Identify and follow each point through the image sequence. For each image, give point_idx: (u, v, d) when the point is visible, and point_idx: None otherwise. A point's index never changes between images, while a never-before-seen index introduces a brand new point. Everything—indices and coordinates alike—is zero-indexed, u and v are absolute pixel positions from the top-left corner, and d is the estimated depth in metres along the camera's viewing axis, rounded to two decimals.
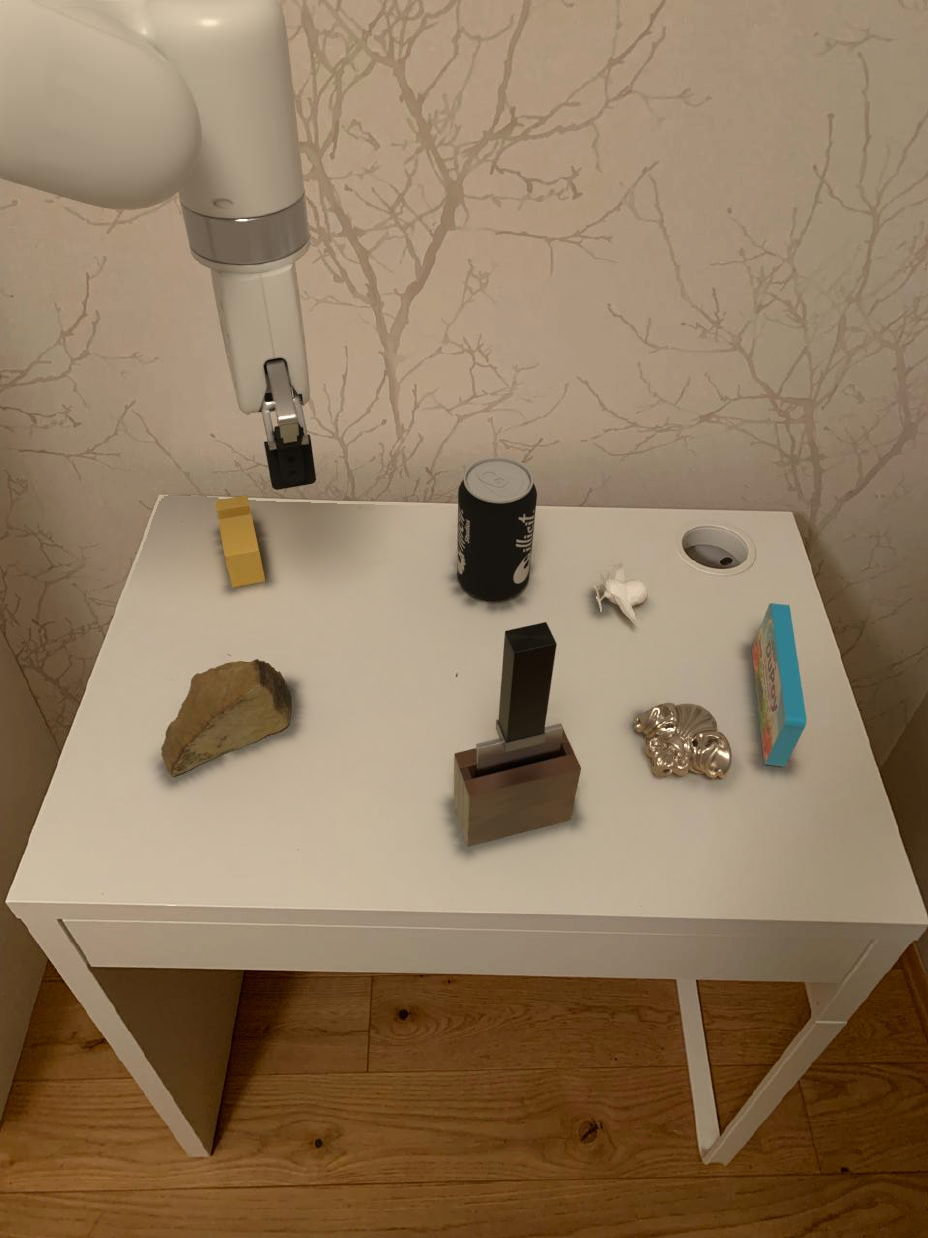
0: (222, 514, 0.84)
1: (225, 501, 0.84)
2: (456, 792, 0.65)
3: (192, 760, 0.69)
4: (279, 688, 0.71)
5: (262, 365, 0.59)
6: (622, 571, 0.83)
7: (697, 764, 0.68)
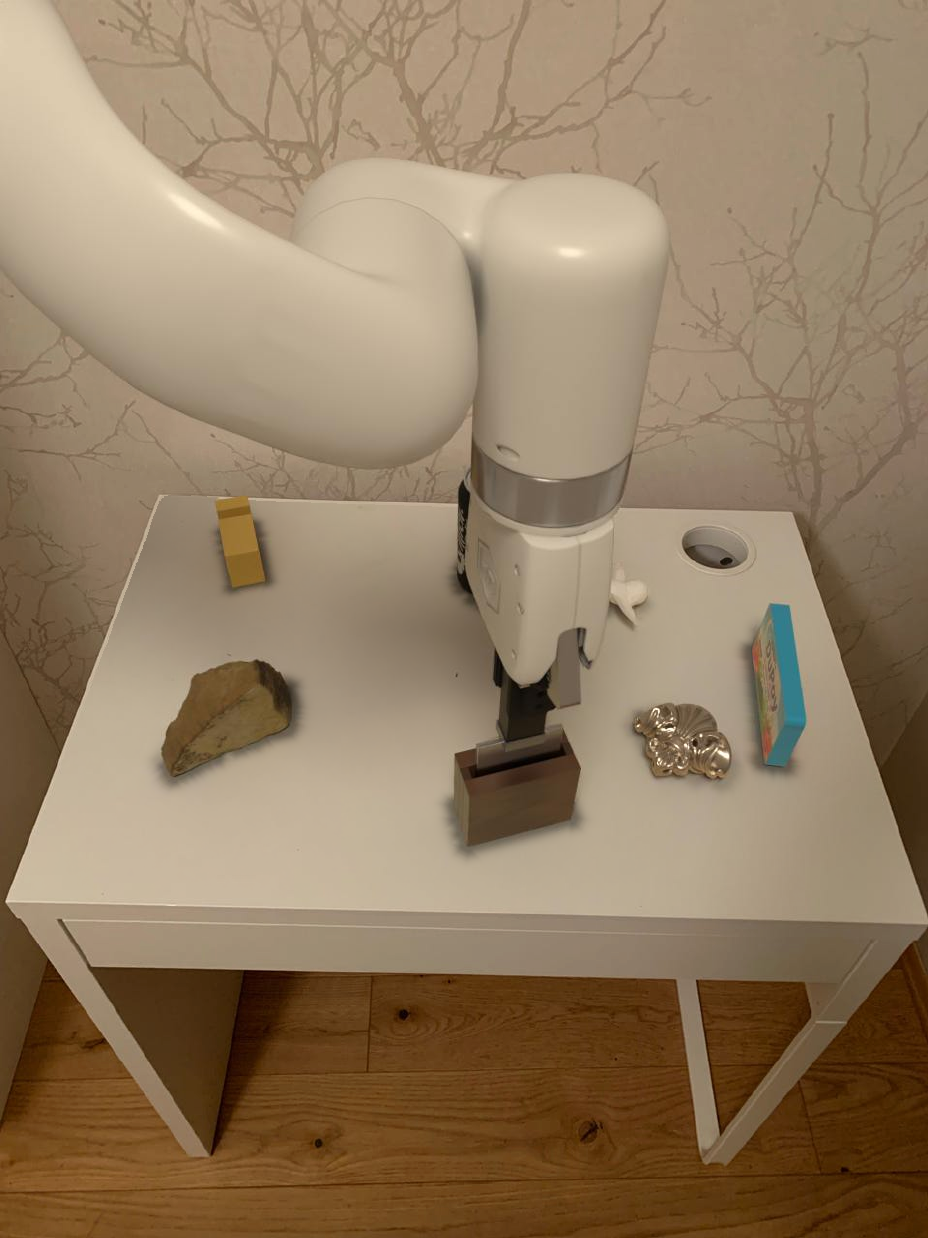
0: (222, 514, 0.84)
1: (225, 501, 0.84)
2: (456, 792, 0.65)
3: (192, 760, 0.69)
4: (279, 688, 0.71)
5: (557, 637, 0.45)
6: (622, 571, 0.83)
7: (697, 764, 0.68)
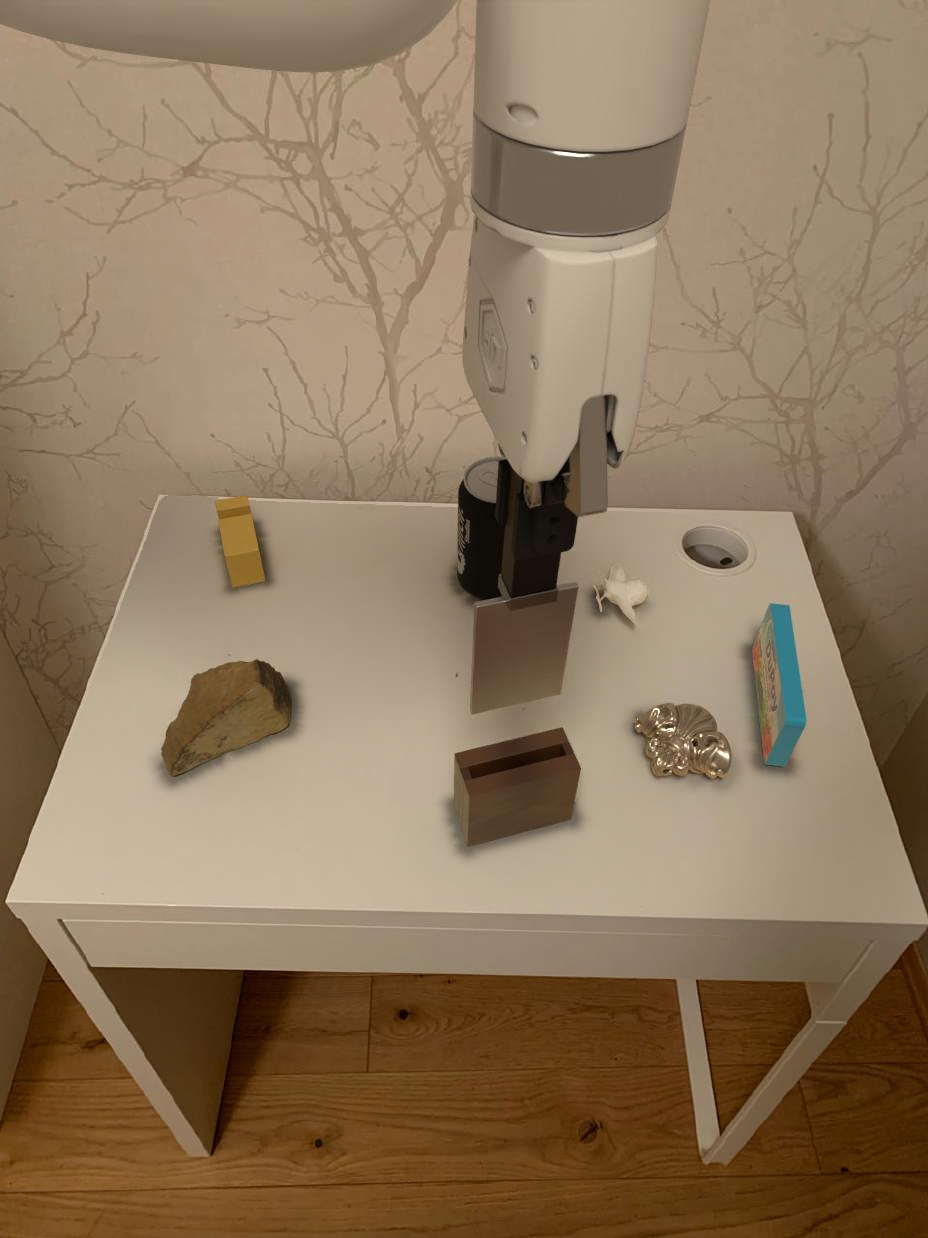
0: (222, 514, 0.84)
1: (225, 501, 0.84)
2: (456, 792, 0.65)
3: (192, 760, 0.69)
4: (279, 688, 0.71)
5: (580, 407, 0.35)
6: (622, 571, 0.83)
7: (697, 764, 0.68)
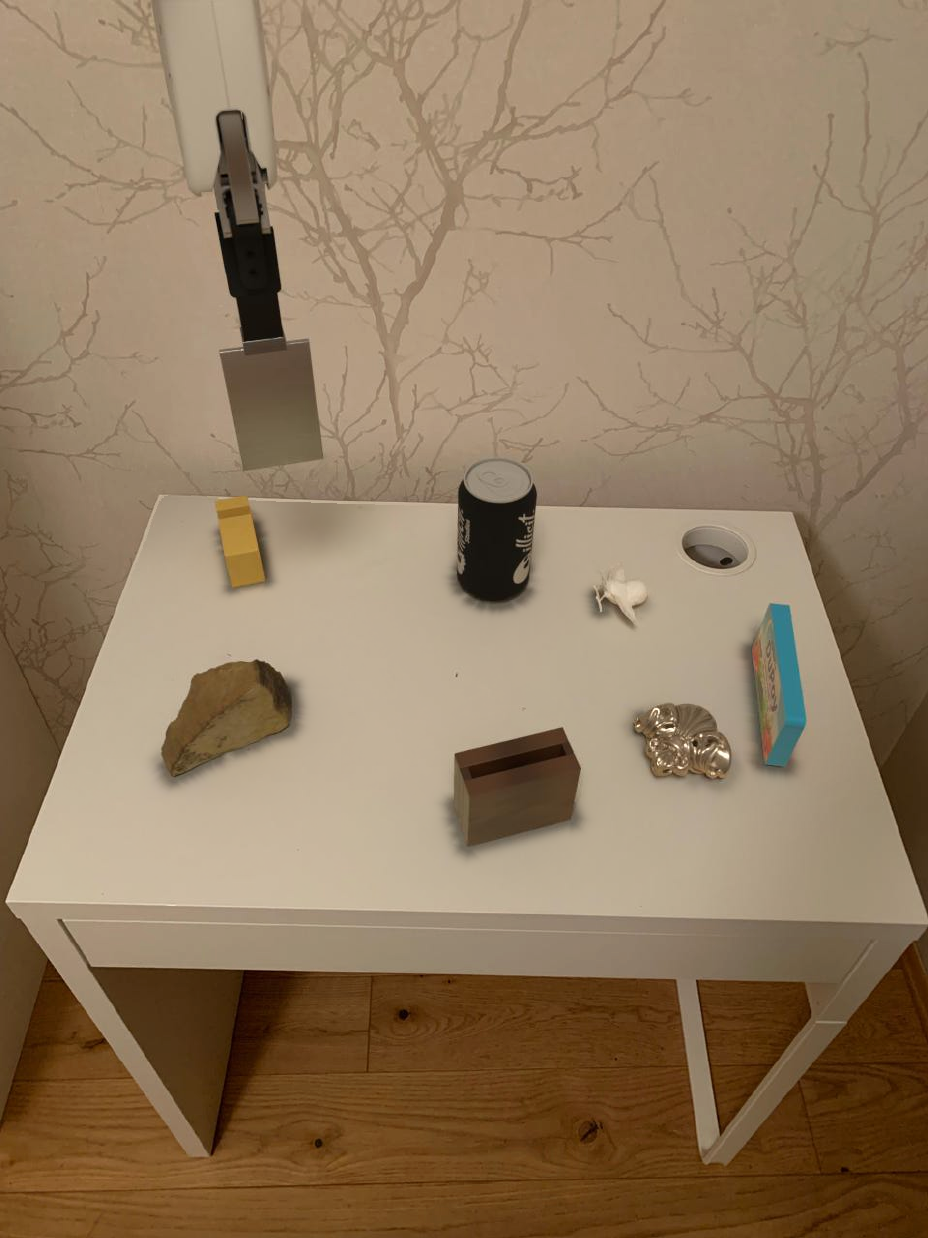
0: (222, 514, 0.84)
1: (225, 501, 0.84)
2: (456, 792, 0.65)
3: (192, 760, 0.69)
4: (279, 688, 0.71)
5: (214, 119, 0.46)
6: (622, 571, 0.83)
7: (697, 764, 0.68)
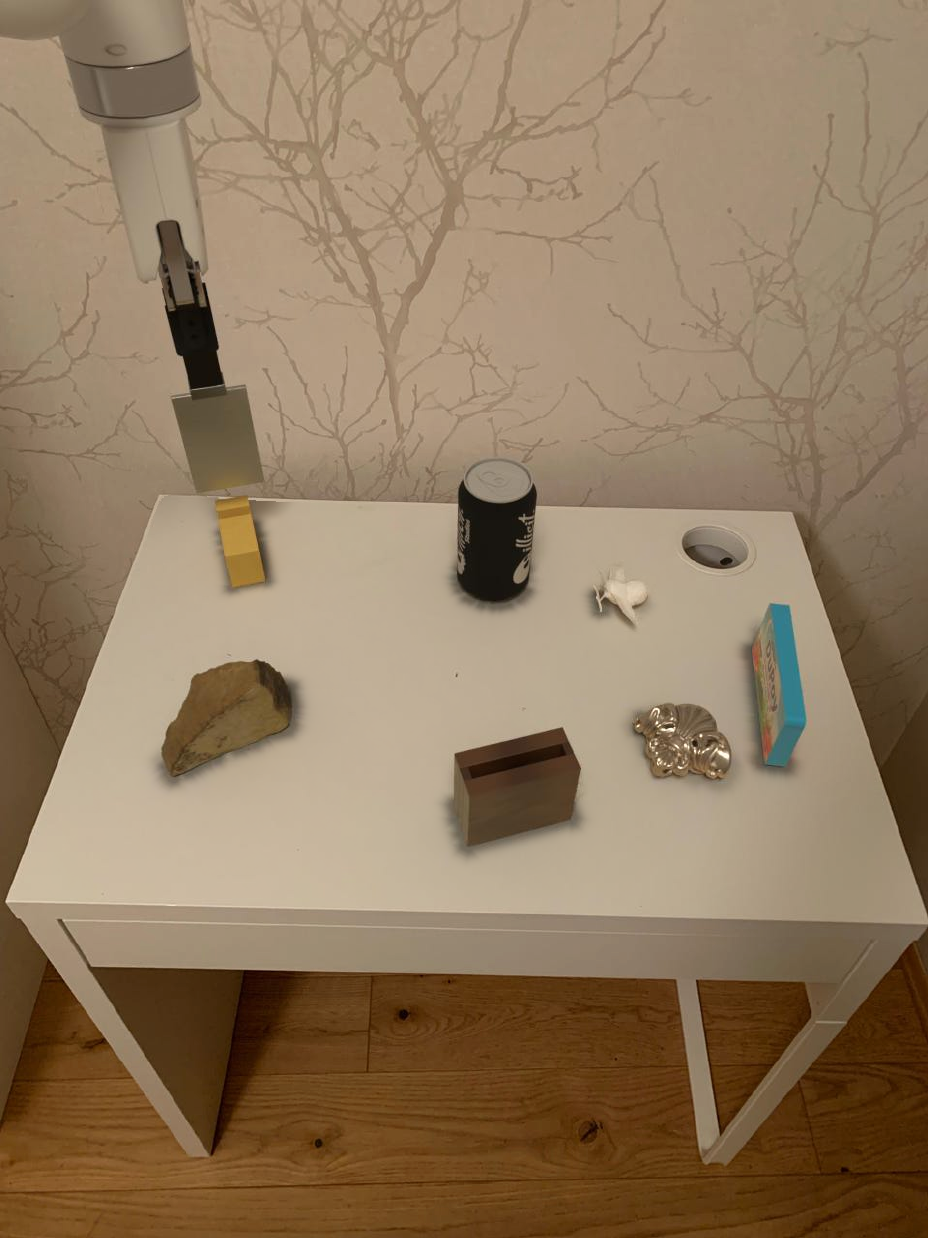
0: (222, 514, 0.84)
1: (225, 501, 0.84)
2: (456, 792, 0.65)
3: (192, 760, 0.69)
4: (279, 688, 0.71)
5: (154, 227, 0.59)
6: (622, 571, 0.83)
7: (697, 764, 0.68)
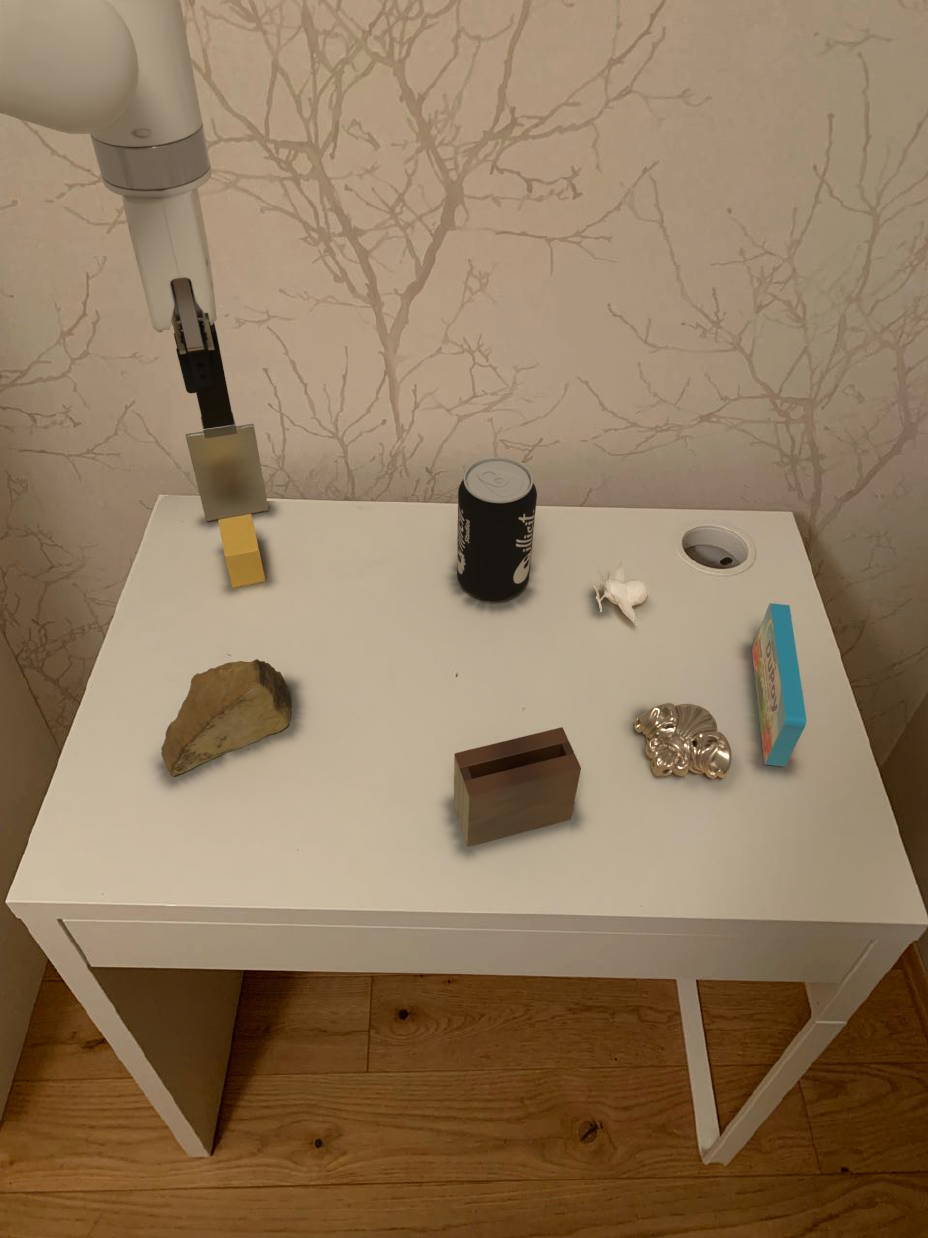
0: None
1: None
2: (456, 792, 0.65)
3: (192, 760, 0.69)
4: (279, 688, 0.71)
5: (169, 284, 0.65)
6: (622, 571, 0.83)
7: (697, 764, 0.68)
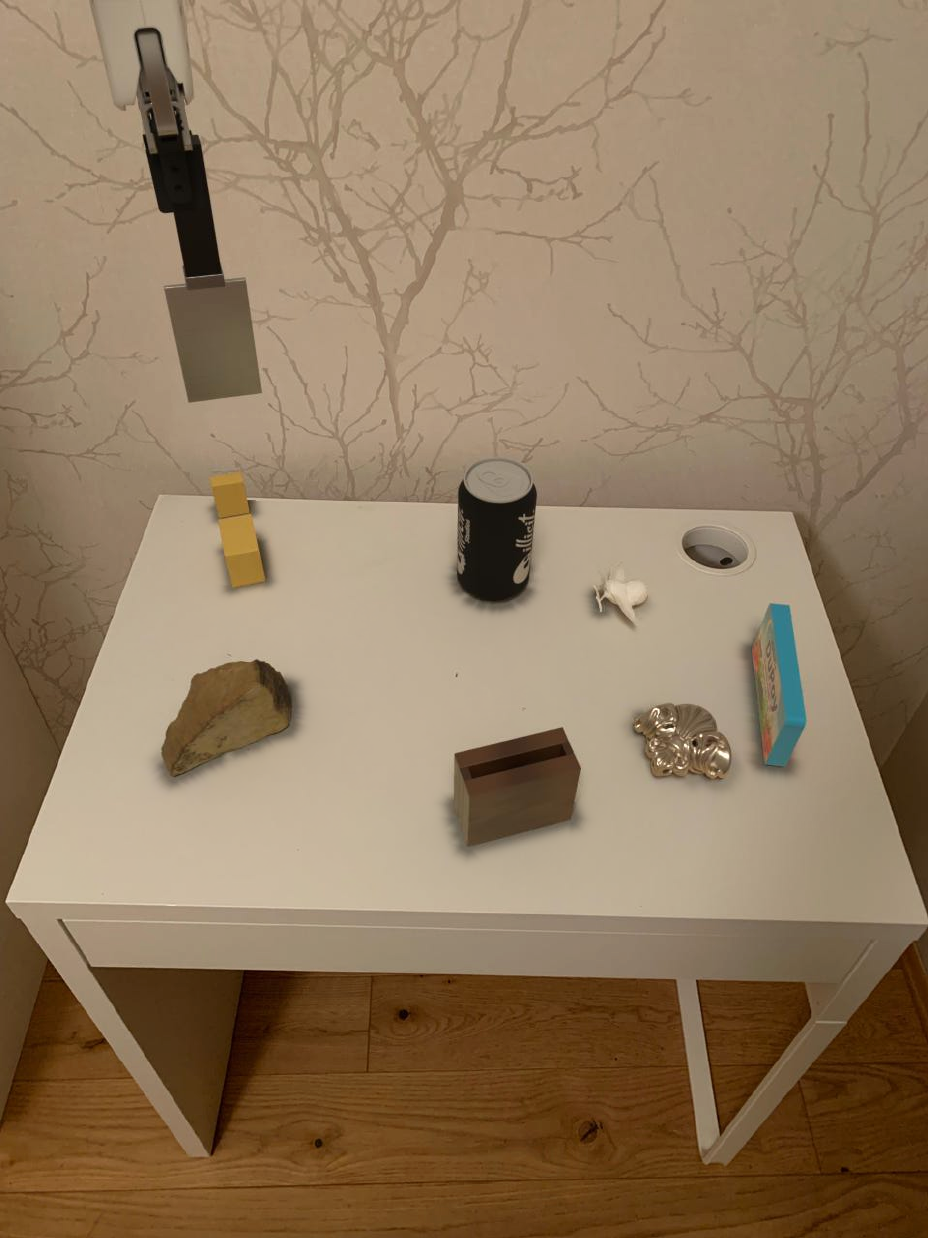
0: (217, 490, 0.86)
1: (219, 478, 0.87)
2: (456, 792, 0.65)
3: (192, 760, 0.69)
4: (279, 688, 0.71)
5: (132, 36, 0.52)
6: (622, 571, 0.83)
7: (697, 764, 0.68)
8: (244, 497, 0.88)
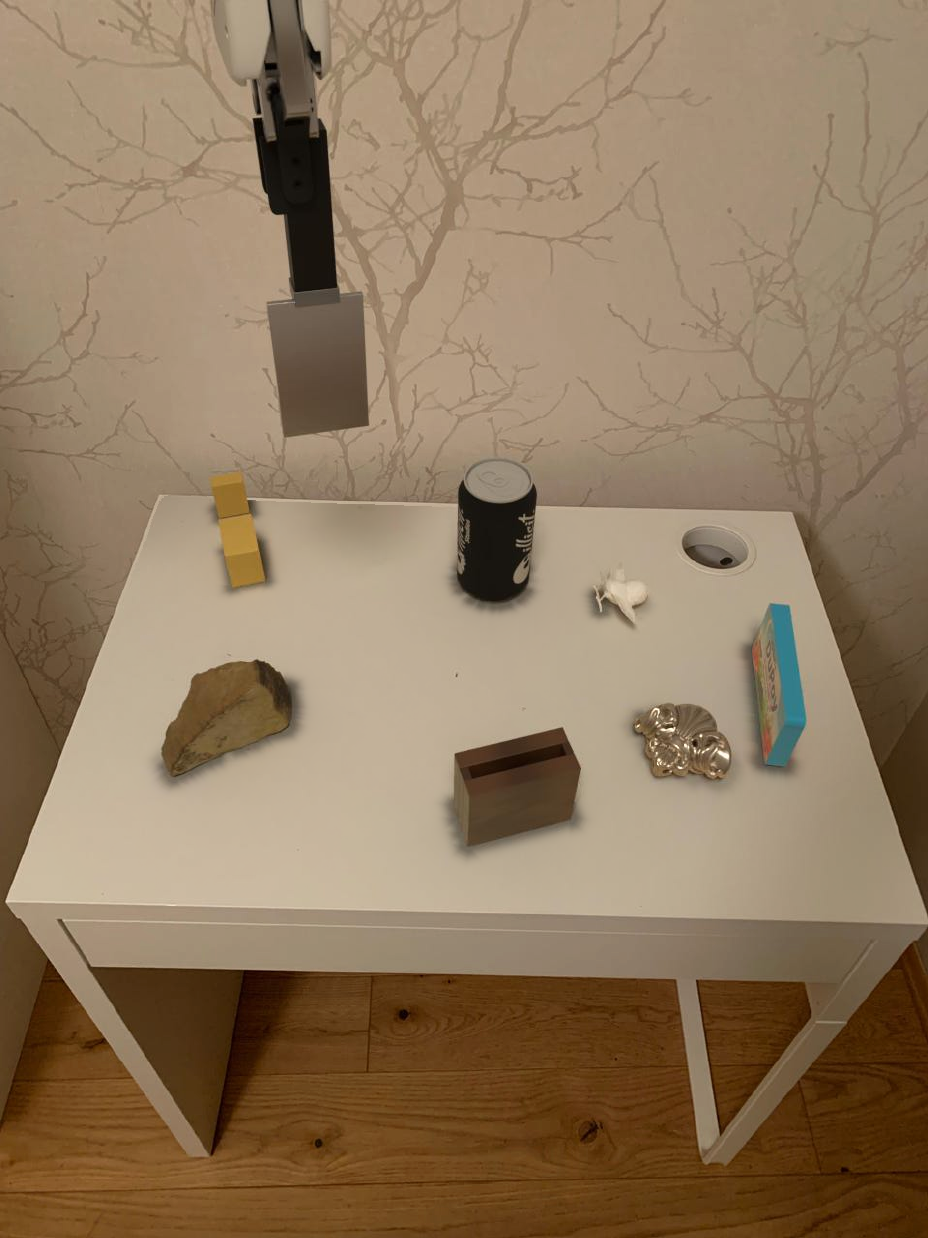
0: (217, 490, 0.86)
1: (219, 478, 0.87)
2: (456, 792, 0.65)
3: (192, 760, 0.69)
4: (279, 688, 0.71)
5: None
6: (622, 571, 0.83)
7: (697, 764, 0.68)
8: (244, 497, 0.88)
